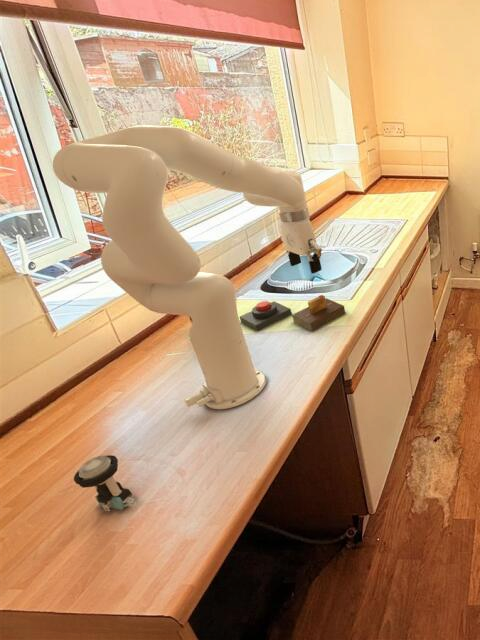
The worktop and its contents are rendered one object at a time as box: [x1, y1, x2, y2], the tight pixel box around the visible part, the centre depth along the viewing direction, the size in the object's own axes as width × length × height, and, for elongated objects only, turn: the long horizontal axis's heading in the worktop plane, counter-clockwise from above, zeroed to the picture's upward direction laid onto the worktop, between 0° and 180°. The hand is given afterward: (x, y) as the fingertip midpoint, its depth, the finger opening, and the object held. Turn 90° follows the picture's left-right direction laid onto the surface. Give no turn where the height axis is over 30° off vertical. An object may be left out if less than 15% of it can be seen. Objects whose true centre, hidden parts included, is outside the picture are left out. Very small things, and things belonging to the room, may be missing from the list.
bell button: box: [255, 300, 271, 311], centre depth 124 cm, size 4×4×2 cm
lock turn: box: [307, 294, 327, 314], centre depth 125 cm, size 5×1×4 cm, turn 149°
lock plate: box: [292, 297, 346, 332], centre depth 126 cm, size 12×9×3 cm
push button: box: [73, 454, 138, 512], centre depth 69 cm, size 7×5×10 cm
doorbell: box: [239, 301, 293, 332], centre depth 125 cm, size 11×9×4 cm
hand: (306, 268), depth 122 cm, fingers open, 9 cm apart
